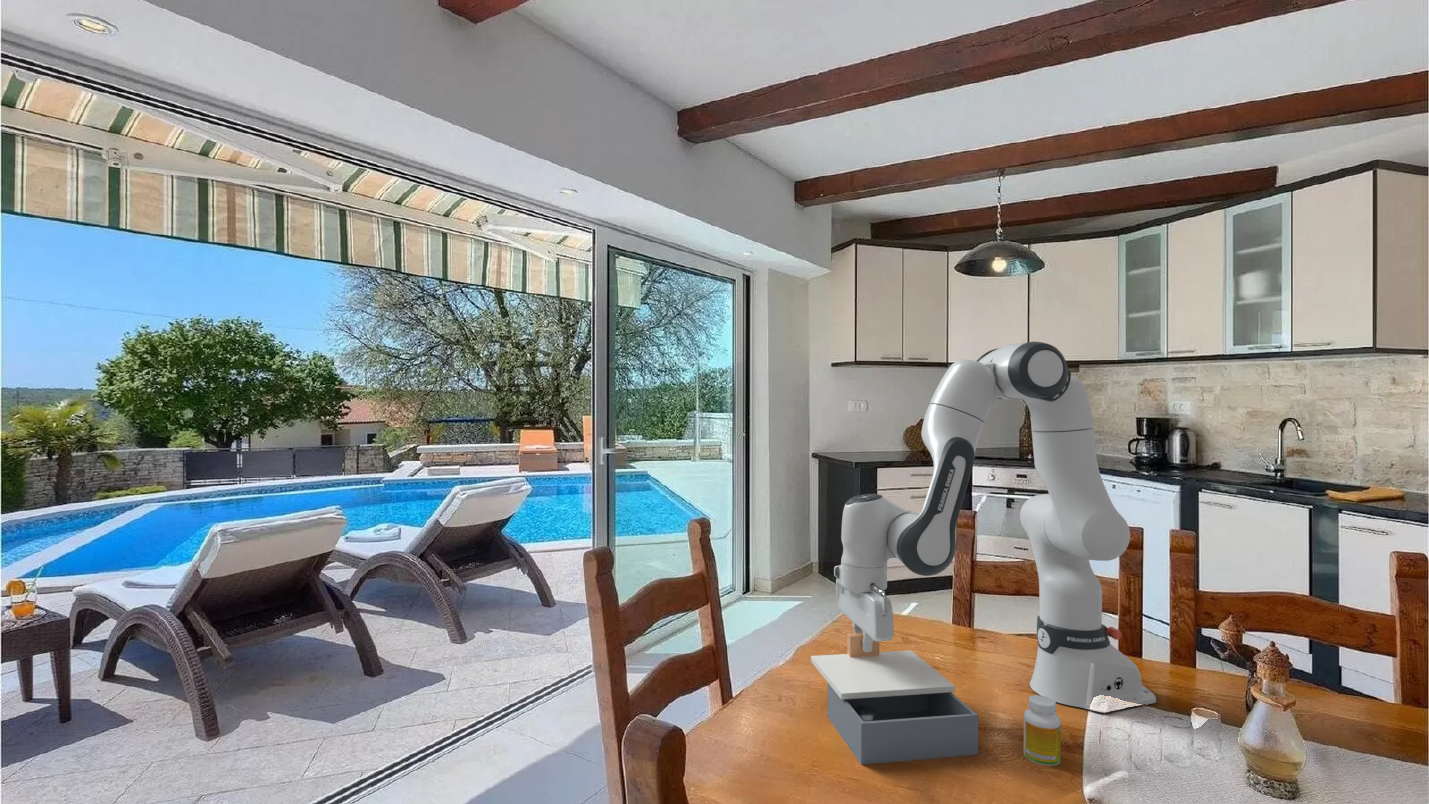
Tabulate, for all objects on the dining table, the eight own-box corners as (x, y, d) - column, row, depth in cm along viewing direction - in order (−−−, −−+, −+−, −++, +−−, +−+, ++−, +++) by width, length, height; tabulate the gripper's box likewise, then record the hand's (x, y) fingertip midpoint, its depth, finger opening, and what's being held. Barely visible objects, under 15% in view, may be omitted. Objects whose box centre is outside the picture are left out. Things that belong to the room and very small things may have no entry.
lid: (911, 655, 131) (911, 630, 131) (955, 691, 115) (955, 663, 115) (810, 661, 128) (811, 635, 128) (841, 699, 111) (841, 670, 111)
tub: (930, 712, 122) (930, 675, 122) (978, 758, 107) (978, 715, 107) (827, 719, 119) (827, 681, 119) (861, 768, 103) (861, 723, 103)
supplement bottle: (1065, 771, 103) (1065, 709, 103) (1028, 767, 104) (1028, 706, 104) (1054, 753, 108) (1055, 694, 108) (1019, 749, 109) (1020, 691, 110)
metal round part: (869, 722, 117) (870, 705, 117) (878, 732, 114) (878, 715, 114) (850, 723, 117) (850, 707, 117) (858, 734, 113) (858, 716, 113)
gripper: (902, 591, 119) (902, 668, 119) (859, 564, 139) (858, 629, 139) (869, 593, 118) (869, 670, 118) (830, 565, 138) (830, 631, 138)
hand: (863, 648), depth 129 cm, fingers closed on lid, 2 cm apart
